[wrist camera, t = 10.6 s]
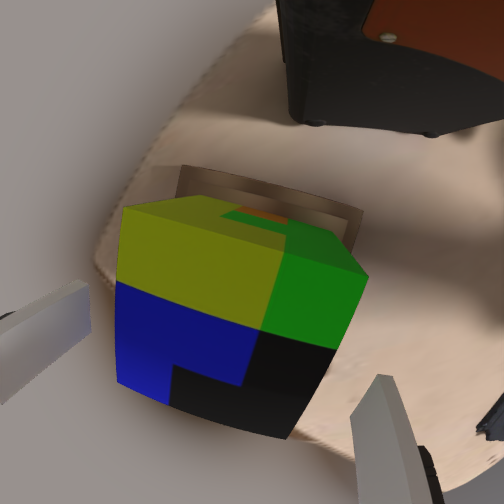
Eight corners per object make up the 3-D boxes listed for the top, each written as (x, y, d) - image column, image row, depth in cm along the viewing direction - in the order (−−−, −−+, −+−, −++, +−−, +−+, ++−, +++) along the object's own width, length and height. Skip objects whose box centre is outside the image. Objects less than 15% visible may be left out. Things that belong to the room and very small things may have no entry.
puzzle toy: (178, 311, 22) (117, 382, 13) (200, 194, 20) (123, 206, 10) (291, 346, 22) (285, 439, 12) (332, 231, 19) (368, 276, 9)
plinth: (352, 206, 22) (364, 211, 18) (305, 342, 26) (307, 367, 22) (199, 167, 24) (180, 164, 19) (174, 304, 27) (156, 323, 23)
